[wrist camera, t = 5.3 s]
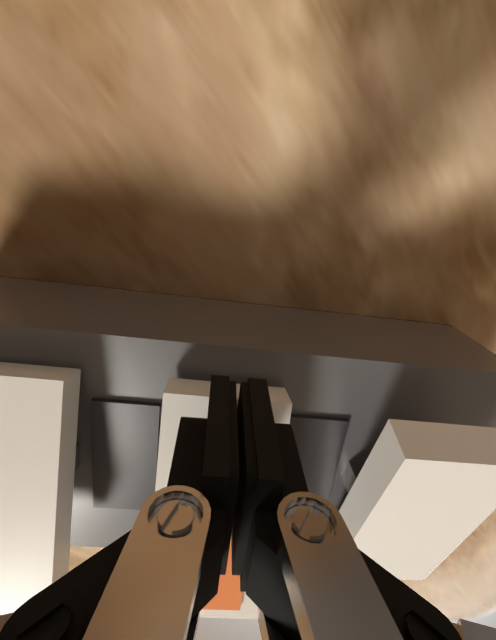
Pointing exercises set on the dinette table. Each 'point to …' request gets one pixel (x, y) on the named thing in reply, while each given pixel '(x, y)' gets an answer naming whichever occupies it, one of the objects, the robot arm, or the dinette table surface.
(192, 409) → the rocker middle
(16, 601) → the block
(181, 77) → the dinette table surface
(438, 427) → the rocker
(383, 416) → the grey long block
